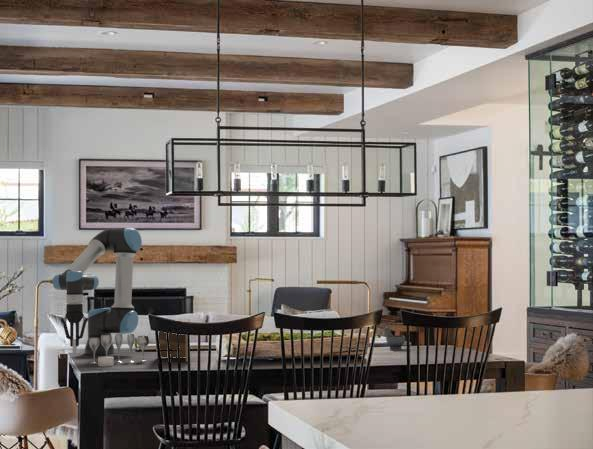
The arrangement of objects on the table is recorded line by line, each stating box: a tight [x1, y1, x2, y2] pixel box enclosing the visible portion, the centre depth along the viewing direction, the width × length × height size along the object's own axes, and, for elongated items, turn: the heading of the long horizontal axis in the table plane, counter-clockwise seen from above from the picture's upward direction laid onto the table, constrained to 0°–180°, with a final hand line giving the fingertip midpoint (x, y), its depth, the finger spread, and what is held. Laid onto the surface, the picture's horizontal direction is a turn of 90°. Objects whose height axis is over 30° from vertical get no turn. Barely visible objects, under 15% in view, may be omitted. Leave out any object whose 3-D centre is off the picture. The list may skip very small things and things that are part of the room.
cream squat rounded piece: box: [97, 355, 115, 367], centre depth 440 cm, size 7×7×4 cm
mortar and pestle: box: [383, 326, 406, 351], centre depth 500 cm, size 11×9×12 cm
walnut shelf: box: [159, 318, 191, 363], centre depth 456 cm, size 20×16×19 cm
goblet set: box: [89, 333, 150, 364], centre depth 454 cm, size 28×6×13 cm, turn 103°
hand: (74, 353), depth 452 cm, fingers closed
